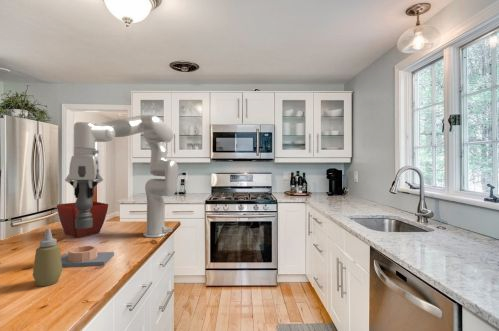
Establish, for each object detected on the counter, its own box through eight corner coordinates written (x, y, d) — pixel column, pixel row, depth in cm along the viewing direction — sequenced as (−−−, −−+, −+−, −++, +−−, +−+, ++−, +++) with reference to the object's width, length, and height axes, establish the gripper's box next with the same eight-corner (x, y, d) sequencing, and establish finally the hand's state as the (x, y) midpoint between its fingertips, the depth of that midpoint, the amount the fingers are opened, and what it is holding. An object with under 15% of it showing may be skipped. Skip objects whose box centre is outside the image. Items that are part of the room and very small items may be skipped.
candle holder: (84, 229, 109) (85, 166, 109) (71, 228, 110) (71, 166, 110) (96, 225, 115) (96, 166, 115) (83, 224, 116) (84, 165, 116)
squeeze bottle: (43, 278, 96) (43, 226, 96) (67, 277, 97) (67, 226, 97) (26, 288, 88) (26, 232, 88) (52, 288, 89) (53, 232, 89)
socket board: (113, 255, 120) (114, 243, 120) (104, 265, 108) (104, 252, 108) (63, 257, 117) (63, 245, 117) (47, 267, 105) (48, 254, 105)
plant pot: (109, 233, 157) (109, 203, 157) (73, 240, 141) (73, 208, 141) (91, 228, 167) (91, 200, 167) (55, 235, 151) (55, 204, 151)
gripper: (109, 153, 118) (109, 196, 118) (66, 152, 115) (66, 196, 115) (103, 153, 110) (102, 198, 110) (57, 152, 107) (56, 198, 108)
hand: (84, 197), depth 113 cm, fingers closed on candle holder, 4 cm apart
